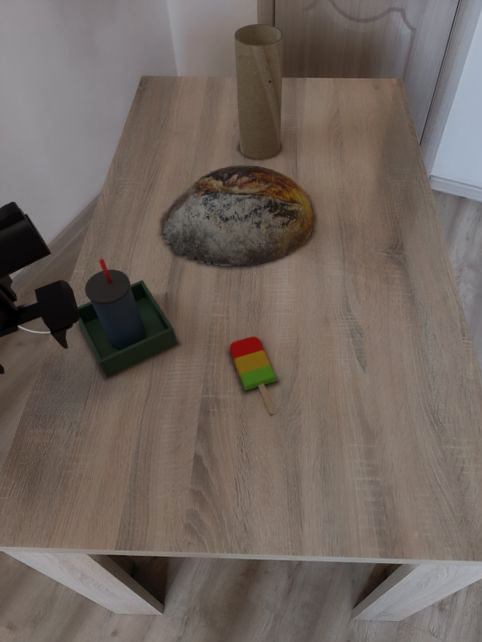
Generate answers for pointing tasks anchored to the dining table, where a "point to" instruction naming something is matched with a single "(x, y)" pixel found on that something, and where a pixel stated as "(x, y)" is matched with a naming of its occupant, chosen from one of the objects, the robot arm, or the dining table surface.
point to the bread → (239, 217)
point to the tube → (259, 89)
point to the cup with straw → (115, 307)
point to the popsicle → (253, 366)
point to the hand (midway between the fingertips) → (35, 358)
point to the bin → (154, 343)
